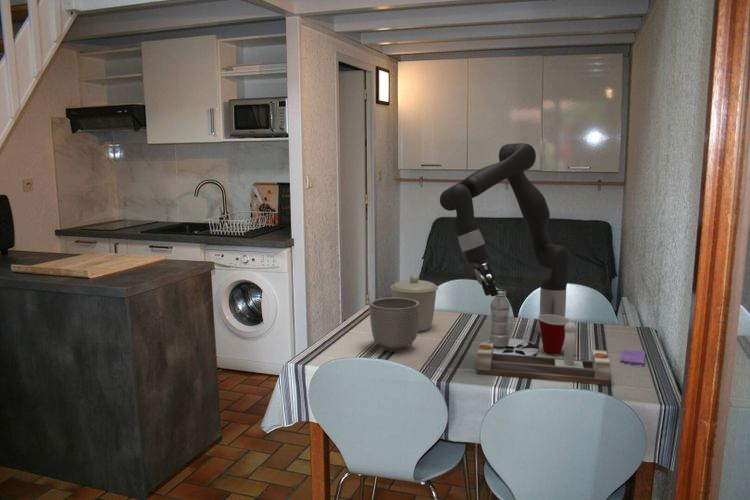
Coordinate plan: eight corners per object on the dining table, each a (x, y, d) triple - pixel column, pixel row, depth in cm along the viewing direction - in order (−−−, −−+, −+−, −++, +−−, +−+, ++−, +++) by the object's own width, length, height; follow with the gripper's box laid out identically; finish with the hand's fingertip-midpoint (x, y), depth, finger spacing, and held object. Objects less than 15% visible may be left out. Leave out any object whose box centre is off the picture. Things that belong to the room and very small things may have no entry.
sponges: (620, 365, 196) (620, 359, 196) (622, 353, 208) (622, 348, 207) (644, 368, 194) (644, 362, 193) (644, 356, 205) (645, 350, 205)
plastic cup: (564, 359, 200) (566, 323, 198) (532, 354, 206) (533, 319, 204) (573, 350, 209) (575, 316, 208) (542, 345, 215) (543, 312, 213)
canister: (445, 326, 239) (446, 273, 236) (423, 338, 224) (424, 281, 221) (405, 320, 249) (405, 268, 246) (381, 330, 234) (381, 276, 231)
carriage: (554, 364, 190) (556, 319, 188) (581, 366, 188) (584, 320, 186) (555, 371, 184) (557, 324, 182) (583, 374, 182) (585, 326, 180)
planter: (382, 338, 225) (382, 295, 222) (427, 344, 217) (427, 300, 215) (361, 351, 209) (360, 305, 207) (407, 358, 202) (408, 311, 199)
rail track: (480, 361, 199) (480, 340, 198) (604, 371, 190) (606, 349, 189) (476, 373, 188) (477, 351, 187) (609, 385, 178) (610, 361, 177)
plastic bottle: (509, 350, 210) (510, 292, 207) (489, 348, 212) (490, 292, 209) (508, 344, 217) (510, 288, 213) (489, 343, 218) (490, 288, 215)
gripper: (489, 241, 185) (508, 291, 185) (480, 243, 200) (498, 290, 199) (466, 249, 185) (485, 300, 185) (458, 251, 199) (476, 298, 199)
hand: (491, 295), depth 192 cm, fingers open, 8 cm apart
